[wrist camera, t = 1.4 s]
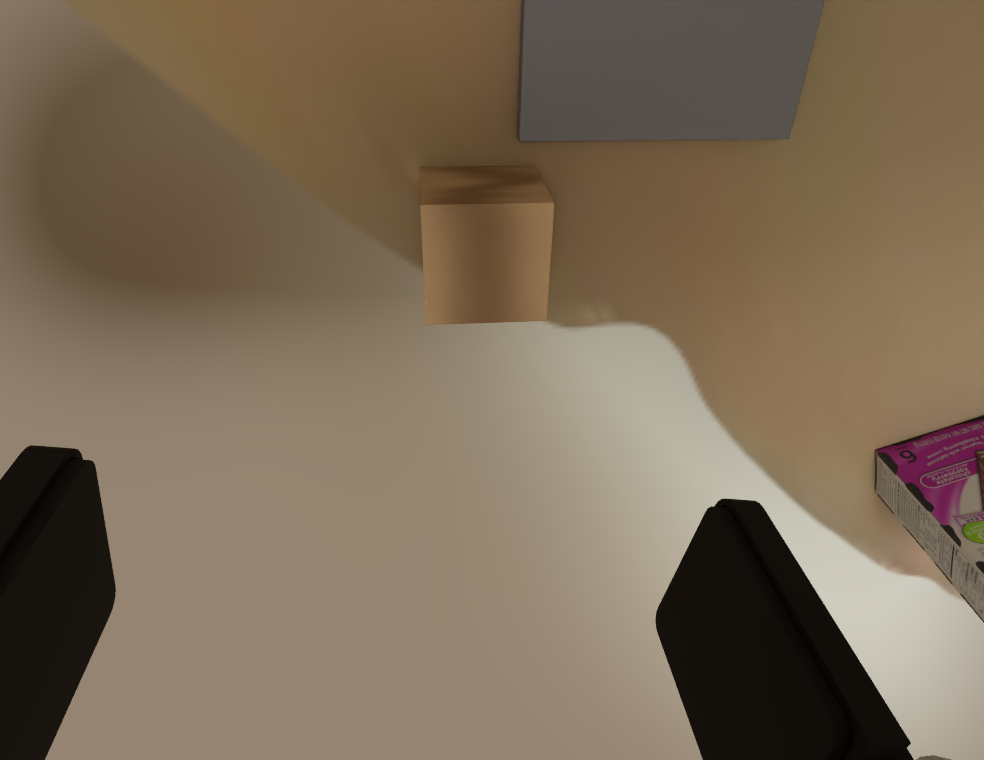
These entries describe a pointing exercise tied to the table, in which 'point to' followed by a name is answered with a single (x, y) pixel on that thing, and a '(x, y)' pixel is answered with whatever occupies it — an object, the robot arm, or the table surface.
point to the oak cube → (485, 244)
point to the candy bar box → (941, 500)
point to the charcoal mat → (662, 68)
